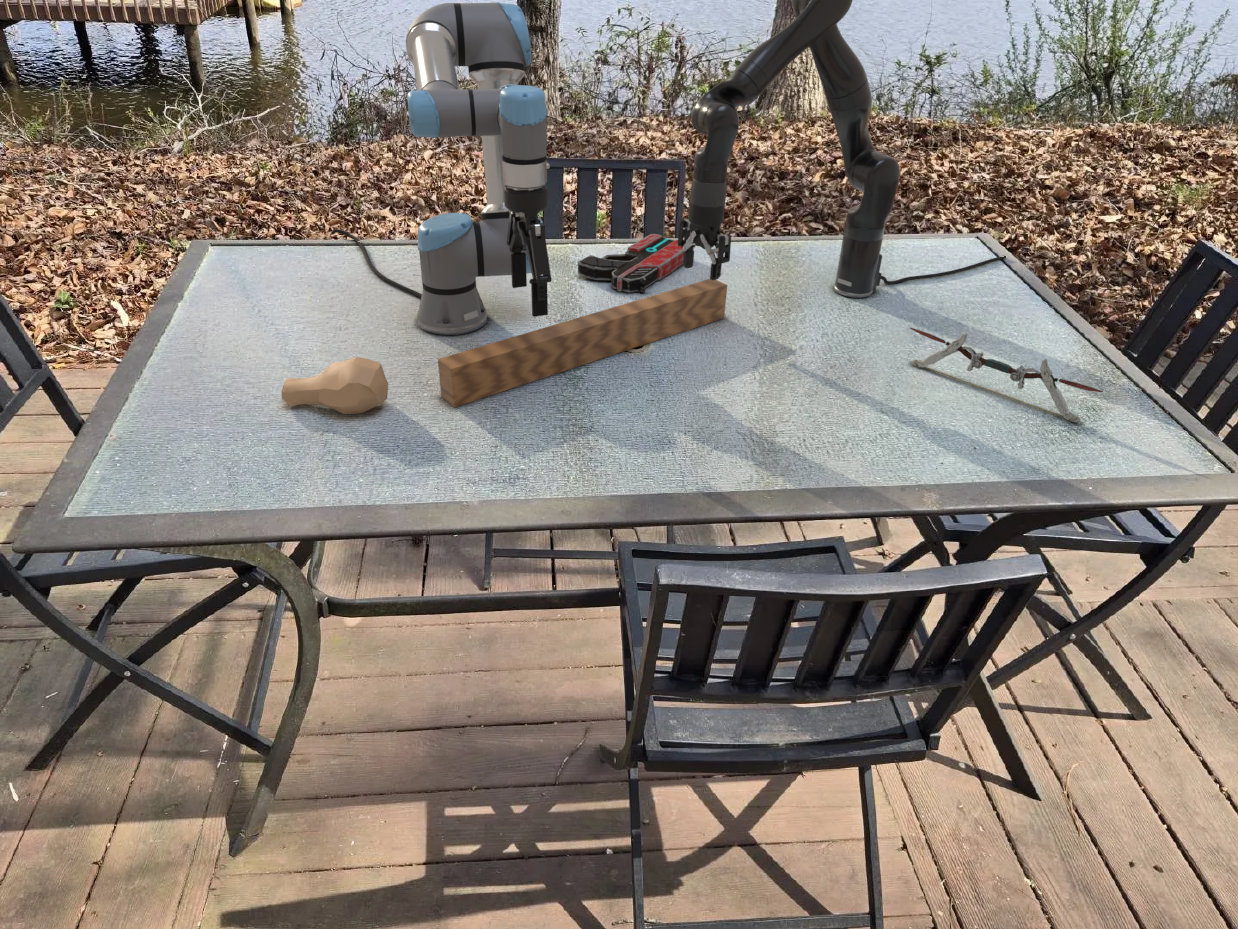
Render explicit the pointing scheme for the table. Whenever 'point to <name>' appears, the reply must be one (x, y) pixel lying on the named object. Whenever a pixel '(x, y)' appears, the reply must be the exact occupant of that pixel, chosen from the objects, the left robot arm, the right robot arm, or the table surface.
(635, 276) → the gun
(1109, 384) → the table surface
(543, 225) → the left robot arm
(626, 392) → the table surface
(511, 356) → the post
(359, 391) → the squash
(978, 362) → the bow
